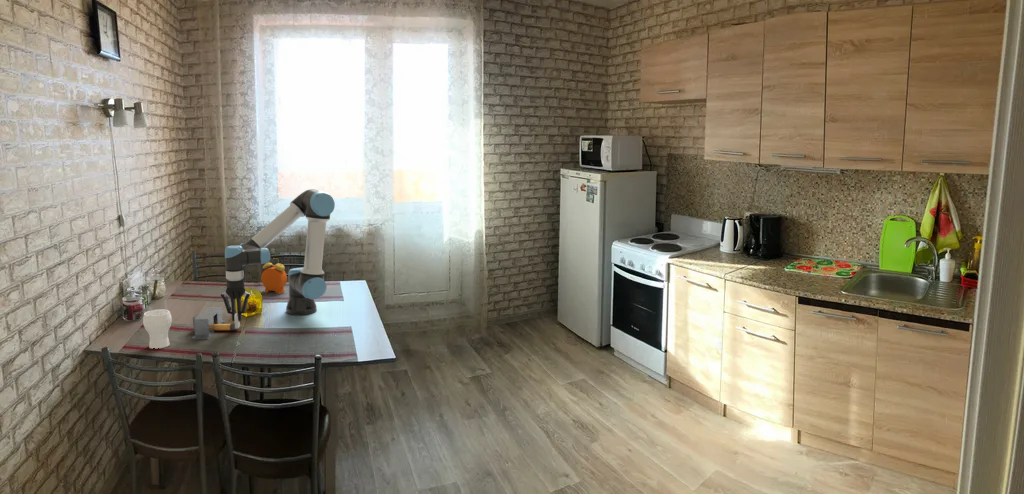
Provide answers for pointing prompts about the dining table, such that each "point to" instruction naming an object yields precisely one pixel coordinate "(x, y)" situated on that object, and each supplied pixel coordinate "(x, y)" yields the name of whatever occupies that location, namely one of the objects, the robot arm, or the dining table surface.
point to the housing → (207, 322)
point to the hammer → (220, 326)
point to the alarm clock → (274, 278)
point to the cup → (157, 327)
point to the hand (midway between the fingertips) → (237, 327)
